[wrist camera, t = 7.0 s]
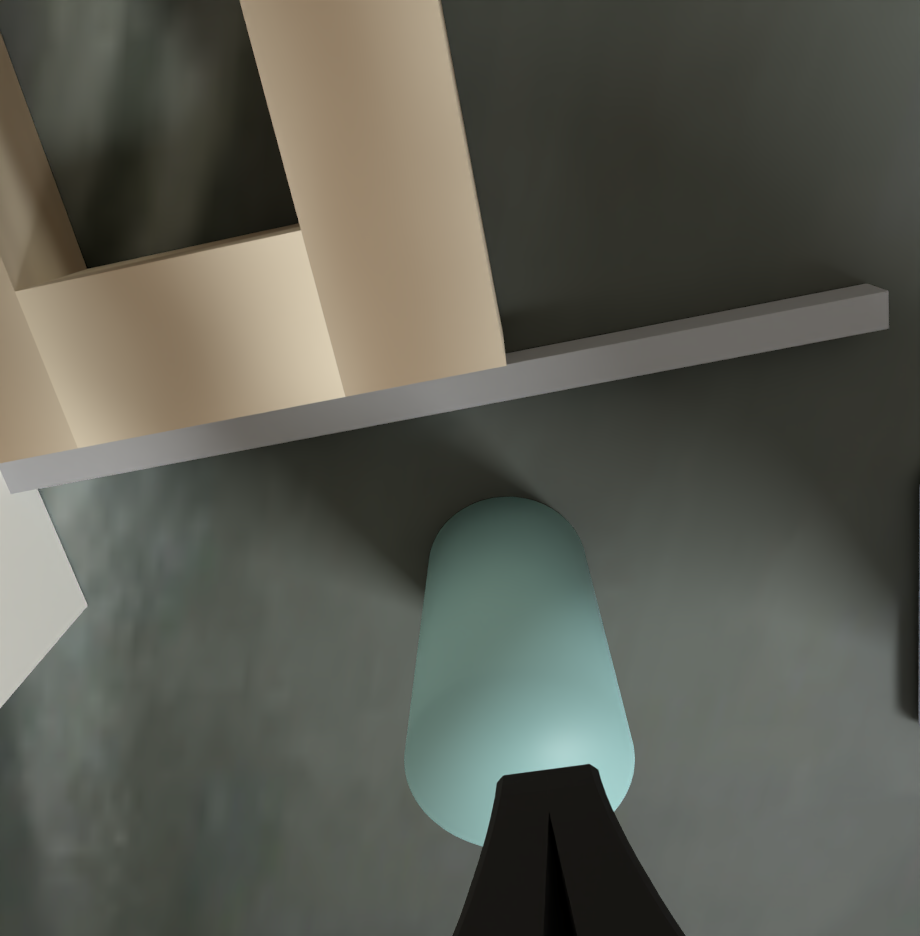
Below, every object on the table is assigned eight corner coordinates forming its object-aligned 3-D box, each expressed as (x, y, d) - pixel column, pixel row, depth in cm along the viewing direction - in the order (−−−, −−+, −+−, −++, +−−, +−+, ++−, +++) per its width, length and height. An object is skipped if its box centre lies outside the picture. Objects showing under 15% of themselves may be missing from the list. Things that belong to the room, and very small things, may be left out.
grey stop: (842, -952, 11) (1188, -2000, 6) (871, 470, 19) (1029, 602, 14) (-558, -477, 14) (-1277, -907, 8) (-18, 623, 22) (-192, 791, 16)
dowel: (573, 484, 20) (618, 651, 13) (596, 622, 21) (647, 835, 15) (412, 512, 20) (380, 688, 14) (446, 646, 21) (431, 864, 15)
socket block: (376, -344, 14) (350, -466, 11) (502, 331, 18) (506, 365, 16) (-246, -168, 15) (-410, -237, 12) (11, 428, 19) (-67, 476, 17)
